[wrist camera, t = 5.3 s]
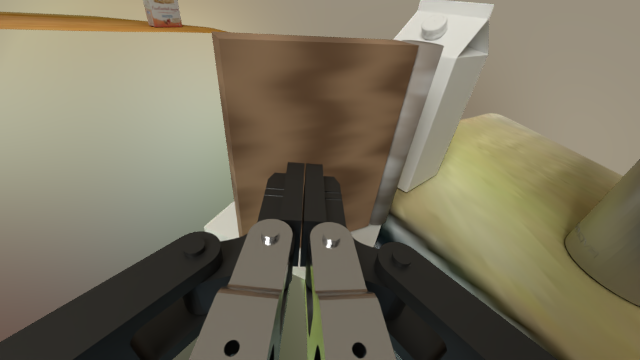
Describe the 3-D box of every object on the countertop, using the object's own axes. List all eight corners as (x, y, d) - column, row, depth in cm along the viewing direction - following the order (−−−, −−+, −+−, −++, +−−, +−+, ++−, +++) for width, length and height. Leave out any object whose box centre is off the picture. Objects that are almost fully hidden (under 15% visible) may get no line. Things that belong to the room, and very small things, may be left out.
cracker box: (155, 27, 121) (142, -29, 109) (148, 25, 123) (134, -30, 111) (183, 27, 131) (173, -25, 119) (176, 25, 133) (166, -26, 121)
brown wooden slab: (375, 204, 26) (422, 40, 18) (392, 220, 25) (453, 47, 16) (239, 243, 21) (210, 30, 12) (247, 268, 19) (219, 39, 10)
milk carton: (393, 153, 39) (438, 1, 28) (436, 176, 35) (509, 7, 24) (362, 166, 35) (400, -5, 24) (406, 194, 31) (477, 1, 20)
